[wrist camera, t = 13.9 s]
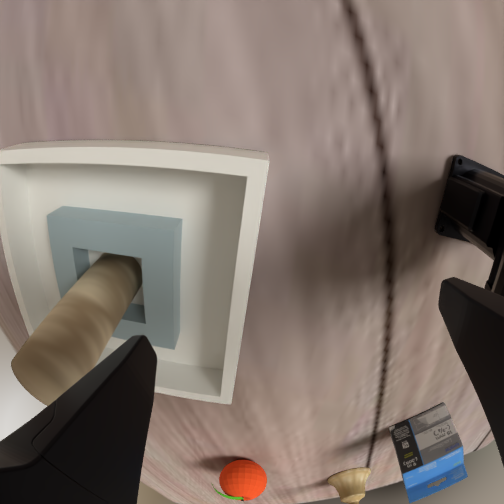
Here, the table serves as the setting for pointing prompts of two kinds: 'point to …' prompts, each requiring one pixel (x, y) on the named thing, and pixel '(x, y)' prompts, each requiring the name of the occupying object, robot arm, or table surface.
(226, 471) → the clementine
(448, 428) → the label tape cartridge
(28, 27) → the table surface
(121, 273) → the peg
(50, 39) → the table surface
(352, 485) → the hand bell
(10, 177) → the tray
